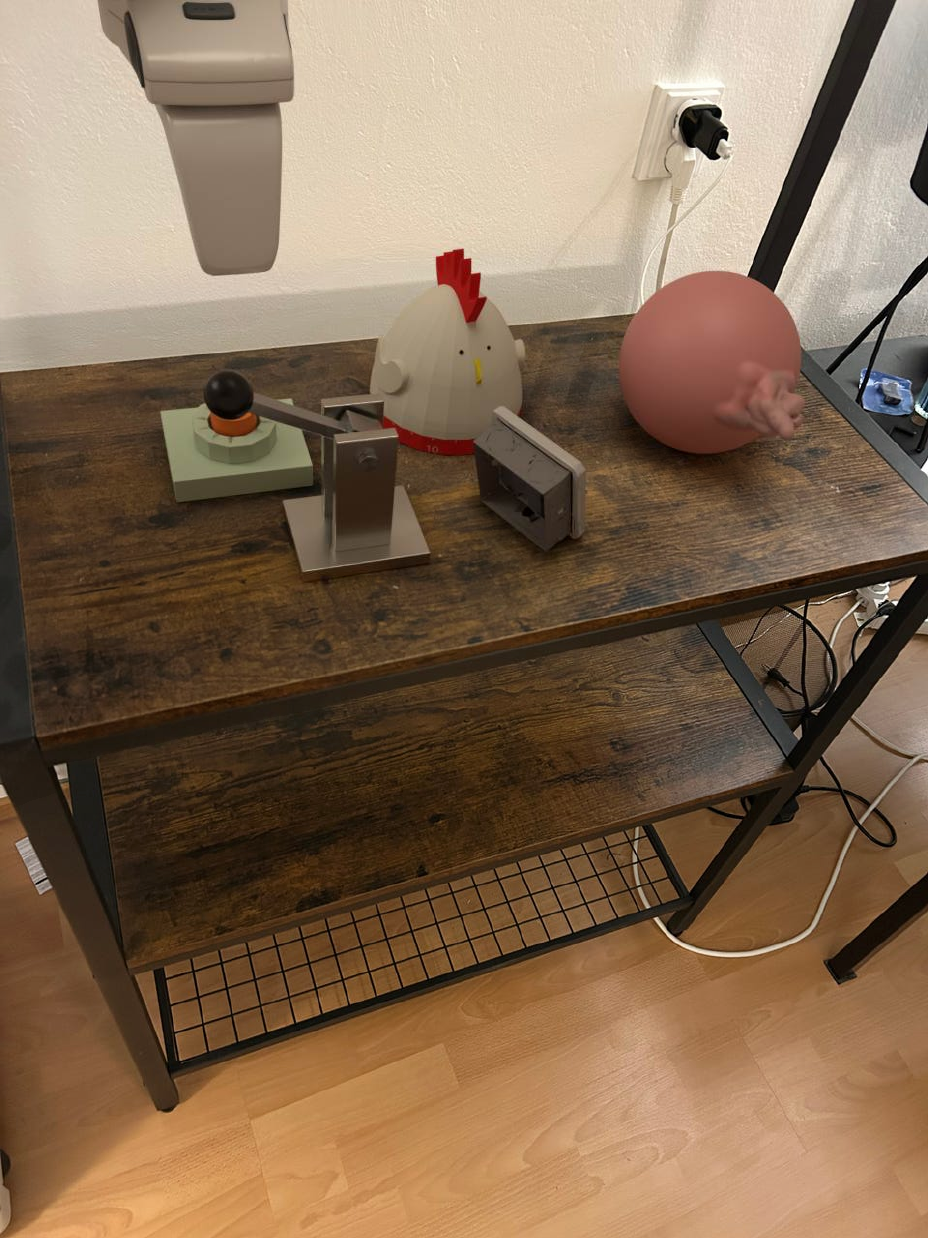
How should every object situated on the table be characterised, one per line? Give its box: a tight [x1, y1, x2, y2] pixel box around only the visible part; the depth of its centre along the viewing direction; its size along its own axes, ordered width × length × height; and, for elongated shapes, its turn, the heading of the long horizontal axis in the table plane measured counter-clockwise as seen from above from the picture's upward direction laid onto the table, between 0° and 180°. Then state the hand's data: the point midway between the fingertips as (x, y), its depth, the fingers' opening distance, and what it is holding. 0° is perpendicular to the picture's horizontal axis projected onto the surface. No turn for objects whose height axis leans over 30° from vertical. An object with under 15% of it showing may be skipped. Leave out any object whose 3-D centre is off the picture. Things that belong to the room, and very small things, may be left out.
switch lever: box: [203, 369, 382, 442], centre depth 66 cm, size 13×3×3 cm, turn 108°
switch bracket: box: [282, 393, 432, 583], centre depth 72 cm, size 10×8×12 cm
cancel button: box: [210, 411, 257, 437], centre depth 78 cm, size 4×4×2 cm
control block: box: [160, 398, 314, 503], centre depth 80 cm, size 11×9×4 cm
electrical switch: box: [473, 406, 587, 552], centre depth 77 cm, size 9×5×9 cm, turn 44°
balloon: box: [618, 270, 806, 455], centre depth 83 cm, size 15×20×15 cm
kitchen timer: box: [369, 248, 526, 456], centre depth 83 cm, size 14×14×15 cm
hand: (218, 262), depth 56 cm, fingers closed
